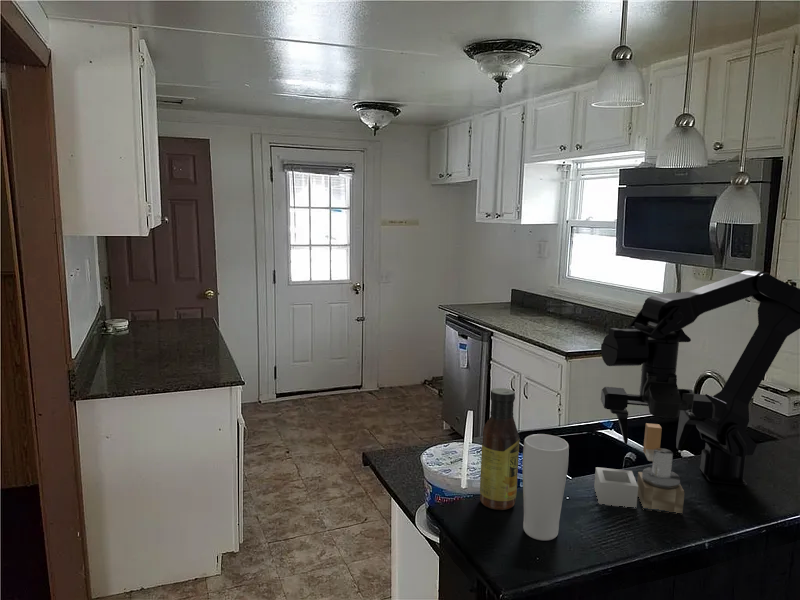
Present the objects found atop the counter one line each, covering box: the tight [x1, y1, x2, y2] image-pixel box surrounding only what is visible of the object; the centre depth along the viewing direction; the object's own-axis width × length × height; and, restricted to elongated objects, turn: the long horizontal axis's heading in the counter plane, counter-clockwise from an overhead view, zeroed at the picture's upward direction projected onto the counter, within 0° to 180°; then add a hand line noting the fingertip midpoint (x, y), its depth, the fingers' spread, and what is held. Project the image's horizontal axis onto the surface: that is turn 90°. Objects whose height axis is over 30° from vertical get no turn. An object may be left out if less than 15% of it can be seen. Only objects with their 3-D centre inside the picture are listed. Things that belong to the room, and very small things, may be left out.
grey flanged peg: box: [641, 447, 681, 490], centre depth 100 cm, size 6×6×9 cm
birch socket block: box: [636, 471, 685, 514], centre depth 101 cm, size 6×6×4 cm
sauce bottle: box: [479, 387, 520, 511], centre depth 98 cm, size 7×6×20 cm
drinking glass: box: [521, 433, 570, 542], centre depth 90 cm, size 7×7×15 cm
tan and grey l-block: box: [642, 422, 663, 462], centre depth 107 cm, size 2×5×5 cm, turn 168°
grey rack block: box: [593, 466, 638, 509], centre depth 102 cm, size 6×6×4 cm
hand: (651, 446), depth 108 cm, fingers open, 9 cm apart
